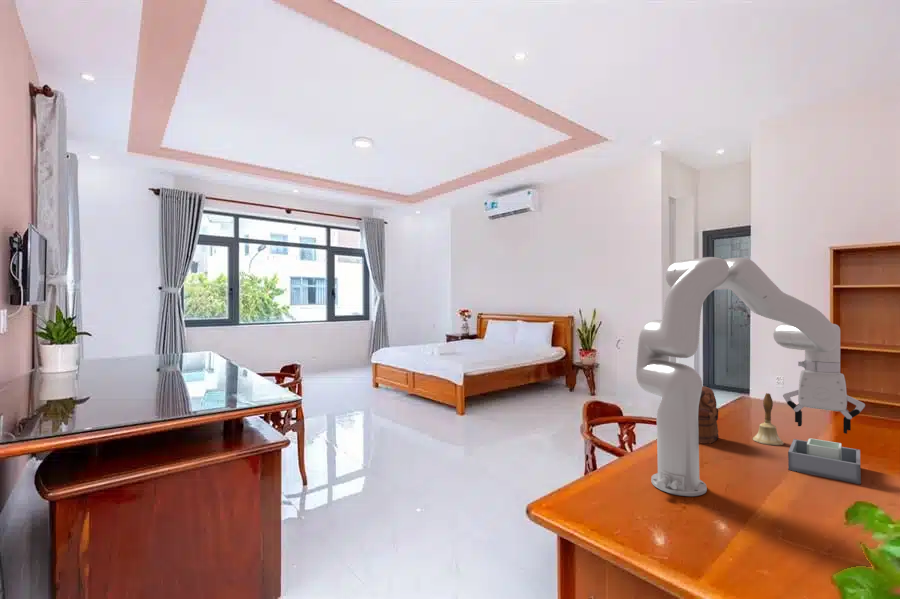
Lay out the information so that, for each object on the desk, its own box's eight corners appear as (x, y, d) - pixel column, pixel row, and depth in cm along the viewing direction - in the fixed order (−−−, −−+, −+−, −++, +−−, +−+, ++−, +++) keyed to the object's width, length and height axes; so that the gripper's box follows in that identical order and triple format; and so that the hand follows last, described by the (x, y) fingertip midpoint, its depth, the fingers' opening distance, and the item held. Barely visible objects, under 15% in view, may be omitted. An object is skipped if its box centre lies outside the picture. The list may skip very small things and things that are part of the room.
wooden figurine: (707, 445, 141) (706, 390, 141) (687, 441, 146) (686, 387, 146) (722, 438, 148) (721, 385, 148) (702, 433, 153) (701, 383, 153)
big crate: (860, 484, 110) (860, 465, 110) (788, 469, 120) (788, 452, 120) (860, 467, 121) (860, 449, 121) (793, 455, 131) (793, 439, 131)
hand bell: (773, 437, 148) (772, 390, 148) (789, 445, 140) (788, 396, 140) (747, 437, 149) (746, 390, 149) (762, 445, 140) (761, 396, 140)
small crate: (840, 472, 116) (840, 449, 116) (807, 465, 121) (806, 444, 121) (841, 464, 121) (841, 443, 121) (809, 458, 126) (808, 438, 126)
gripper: (781, 365, 124) (781, 425, 124) (865, 372, 112) (865, 438, 112) (784, 362, 129) (784, 420, 129) (864, 369, 118) (864, 432, 117)
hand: (822, 428), depth 121 cm, fingers open, 9 cm apart
